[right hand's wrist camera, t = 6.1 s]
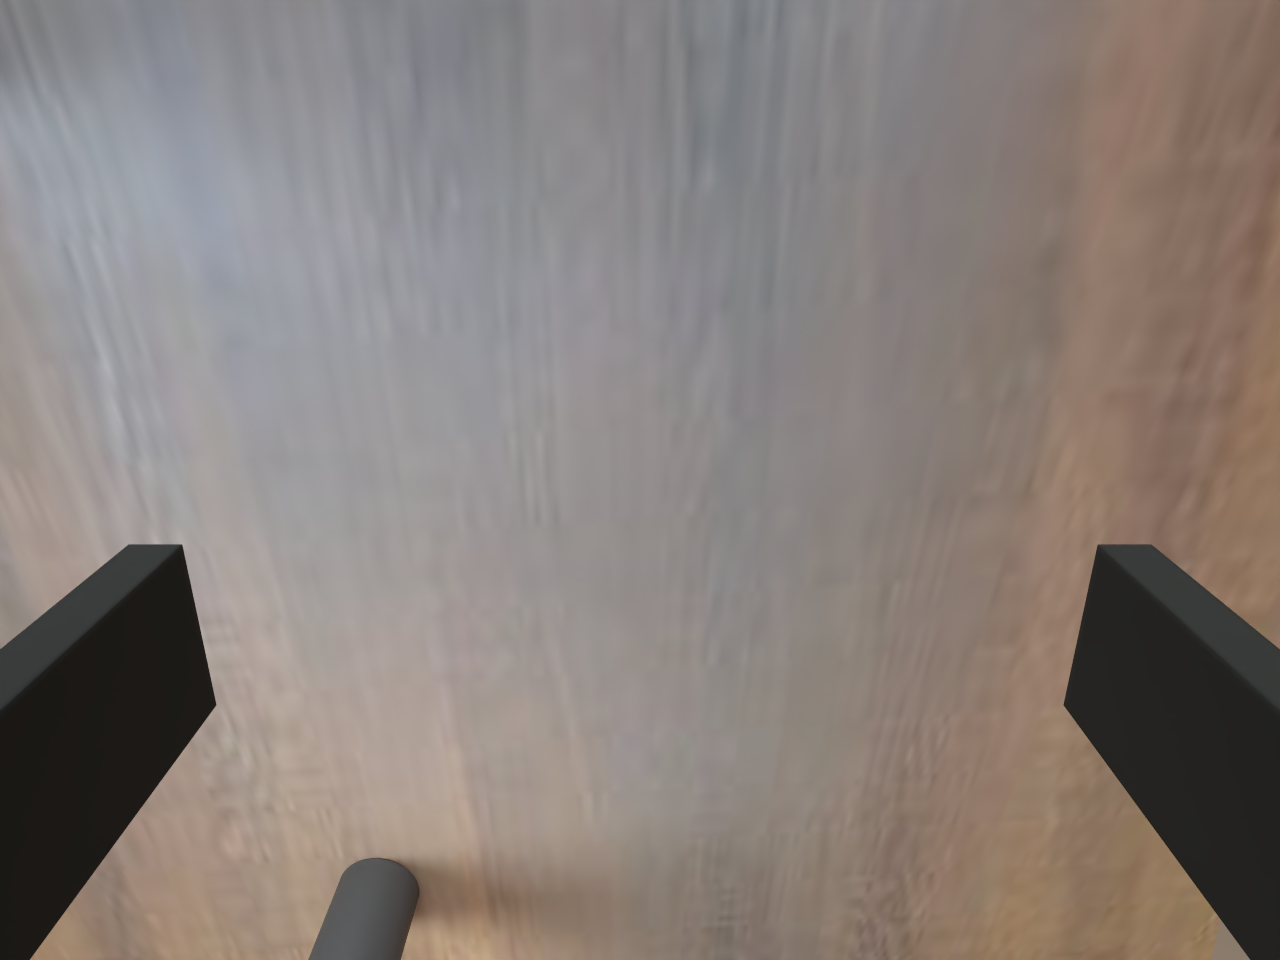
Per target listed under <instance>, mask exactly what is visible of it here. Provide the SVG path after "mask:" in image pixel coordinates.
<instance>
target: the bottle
mask: <svg viewBox="0 0 1280 960" xmlns="http://www.w3.org/2000/svg"><path fill="white" fill-rule="evenodd" d="M418 897H419V887H418V883H417V881H416V879H415V878H414V876H413V875H412V874H411V873H410V872H409V871H408V870H407V869H406V868H404V867H403V866H401V865H400V864H397V863H395V862H392V861H389V860H385V859H366V860H362V861H359V862H357V863H354V864H353V865H351V866H350V867H349V868H347V869H346V871H345V872H344V873H343V875H342V877H341V879H340V882H339V884H338V887H337V889H336V892H335V894H334V897H333V899H332V902H331V904H330V907H329V909H328V912H327V914H326V917H325V919H324V922H323V924H322V927H321V929H320V932H319V934H318V937H317V939H316V942H315V944H314V947H313V949H312V952H311V954H310V957H309V959H308V960H401V957H402V953H403V950H404V946H405V943H406V939H407V936H408V932H409V929H410V925H411V922H412V918H413V915H414V911H415V908H416V904H417V901H418Z"/></svg>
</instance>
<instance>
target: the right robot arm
mask: <svg viewBox="0 0 1280 960" xmlns="http://www.w3.org/2000/svg"><path fill="white" fill-rule="evenodd" d="M215 706H216V701H215V696H214V692H213V687H212V682H211V677H210V673H209V668H208V663H207V659H206V654H205V649H204V645H203V640H202V635H201V631H200V626H199V621H198V616H197V612H196V607H195V602H194V598H193V593H192V588H191V584H190V579H189V574H188V570H187V565H186V560H185V556H184V551H183V546H182V545H128V546H126V547H125V548H124V549H123V550H121V551H120V552H119V553H118V554H117V555H115V556H114V557H113V558H112V559H110V560H109V561H108V562H107V563H106V564H104V565H103V566H102V567H101V568H99V569H98V570H97V571H96V572H95V573H93V574H92V575H91V576H90V577H88V578H87V579H86V580H85V581H83V582H82V583H81V584H80V585H79V586H77V587H76V588H75V589H74V590H72V591H71V592H70V593H69V594H68V595H66V596H65V597H64V598H63V599H61V600H60V601H59V602H58V603H57V604H55V605H54V606H53V607H52V608H50V609H49V610H48V611H47V612H46V613H44V614H43V615H42V616H41V617H39V618H38V619H37V620H36V621H34V622H33V623H32V624H31V625H30V626H28V627H27V628H26V629H25V630H23V631H22V632H21V633H20V634H19V635H17V636H16V637H15V638H14V639H12V640H11V641H10V642H9V643H8V644H6V645H5V646H4V647H3V648H1V649H0V960H30V959H31V957H32V956H33V954H34V953H35V952H36V950H37V949H38V948H39V946H40V945H41V944H42V942H43V941H44V939H45V938H46V937H47V935H48V934H49V933H50V931H51V930H52V929H53V927H54V926H55V924H56V923H57V922H58V920H59V919H60V918H61V916H62V915H63V914H64V912H65V911H66V909H67V908H68V907H69V905H70V904H71V903H72V901H73V900H74V899H75V897H76V896H77V894H78V893H79V892H80V890H81V889H82V888H83V886H84V885H85V884H86V882H87V881H88V879H89V878H90V877H91V875H92V874H93V873H94V871H95V870H96V869H97V867H98V866H99V864H100V863H101V862H102V860H103V859H104V858H105V856H106V855H107V854H108V852H109V851H110V849H111V848H112V847H113V845H114V844H115V843H116V841H117V840H118V839H119V837H120V836H121V834H122V833H123V832H124V830H125V829H126V828H127V826H128V825H129V824H130V822H131V821H132V819H133V818H134V817H135V815H136V814H137V813H138V811H139V810H140V809H141V807H142V806H143V804H144V803H145V802H146V800H147V799H148V798H149V796H150V795H151V794H152V792H153V791H154V789H155V788H156V787H157V785H158V784H159V783H160V781H161V780H162V779H163V777H164V776H165V774H166V773H167V772H168V770H169V769H170V768H171V766H172V765H173V764H174V762H175V761H176V759H177V758H178V757H179V755H180V754H181V753H182V751H183V750H184V749H185V747H186V746H187V744H188V743H189V742H190V740H191V739H192V738H193V736H194V735H195V734H196V732H197V731H198V729H199V728H200V727H201V725H202V724H203V723H204V721H205V720H206V718H207V717H208V716H209V714H210V713H211V712H212V710H213V709H214V708H215ZM1064 706H1065V708H1066V709H1067V710H1068V712H1069V713H1070V714H1071V716H1072V717H1073V719H1074V720H1075V721H1076V723H1077V724H1078V725H1079V727H1080V728H1081V729H1082V731H1083V732H1084V734H1085V735H1086V736H1087V738H1088V739H1089V740H1090V742H1091V743H1092V744H1093V746H1094V747H1095V749H1096V750H1097V751H1098V753H1099V754H1100V755H1101V757H1102V758H1103V759H1104V761H1105V762H1106V764H1107V765H1108V766H1109V768H1110V769H1111V770H1112V772H1113V773H1114V774H1115V776H1116V777H1117V779H1118V780H1119V781H1120V783H1121V784H1122V785H1123V787H1124V788H1125V789H1126V791H1127V792H1128V794H1129V795H1130V796H1131V798H1132V799H1133V800H1134V802H1135V803H1136V804H1137V806H1138V807H1139V809H1140V810H1141V811H1142V813H1143V814H1144V815H1145V817H1146V818H1147V819H1148V821H1149V822H1150V824H1151V825H1152V826H1153V828H1154V829H1155V830H1156V832H1157V833H1158V834H1159V836H1160V837H1161V839H1162V840H1163V841H1164V843H1165V844H1166V845H1167V847H1168V848H1169V849H1170V851H1171V852H1172V854H1173V855H1174V856H1175V858H1176V859H1177V860H1178V862H1179V863H1180V864H1181V866H1182V867H1183V869H1184V870H1185V871H1186V873H1187V874H1188V875H1189V877H1190V878H1191V879H1192V881H1193V882H1194V884H1195V885H1196V886H1197V888H1198V889H1199V890H1200V892H1201V893H1202V894H1203V896H1204V897H1205V899H1206V900H1207V901H1208V903H1209V904H1210V905H1211V907H1212V908H1213V909H1214V911H1215V912H1216V914H1217V915H1218V916H1219V918H1220V919H1221V920H1222V922H1223V923H1224V924H1225V926H1226V927H1227V929H1228V930H1229V931H1230V933H1231V934H1232V935H1233V937H1234V938H1235V939H1236V941H1237V942H1238V943H1239V945H1240V946H1241V948H1242V949H1243V950H1244V952H1245V953H1246V954H1247V956H1248V957H1249V958H1250V960H1280V649H1279V648H1277V647H1276V646H1275V645H1274V644H1272V643H1271V642H1270V641H1269V640H1268V639H1266V638H1265V637H1264V636H1263V635H1261V634H1260V633H1259V632H1258V631H1257V630H1255V629H1254V628H1253V627H1252V626H1250V625H1249V624H1248V623H1247V622H1246V621H1244V620H1243V619H1242V618H1241V617H1239V616H1238V615H1237V614H1236V613H1234V612H1233V611H1232V610H1231V609H1230V608H1228V607H1227V606H1226V605H1225V604H1223V603H1222V602H1221V601H1220V600H1219V599H1217V598H1216V597H1215V596H1214V595H1212V594H1211V593H1210V592H1209V591H1208V590H1206V589H1205V588H1204V587H1203V586H1201V585H1200V584H1199V583H1198V582H1197V581H1195V580H1194V579H1193V578H1192V577H1190V576H1189V575H1188V574H1187V573H1185V572H1184V571H1183V570H1182V569H1181V568H1179V567H1178V566H1177V565H1176V564H1174V563H1173V562H1172V561H1171V560H1170V559H1168V558H1167V557H1166V556H1165V555H1163V554H1162V553H1161V552H1160V551H1159V550H1157V549H1156V548H1155V547H1154V546H1152V545H1098V546H1097V551H1096V556H1095V560H1094V565H1093V570H1092V574H1091V579H1090V584H1089V588H1088V593H1087V598H1086V602H1085V607H1084V612H1083V616H1082V621H1081V626H1080V631H1079V635H1078V640H1077V645H1076V649H1075V654H1074V659H1073V663H1072V668H1071V673H1070V677H1069V682H1068V687H1067V692H1066V696H1065V701H1064Z"/></svg>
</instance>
